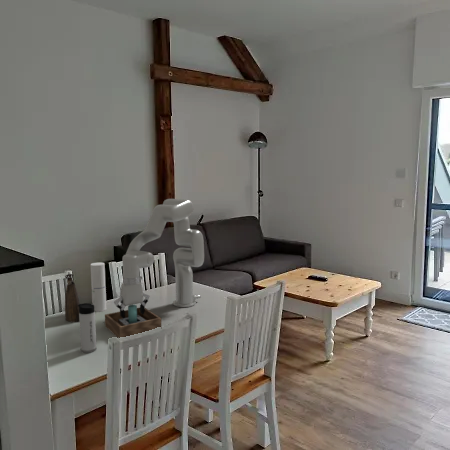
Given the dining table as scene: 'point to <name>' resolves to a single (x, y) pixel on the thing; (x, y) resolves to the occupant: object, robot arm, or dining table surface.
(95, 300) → the cylindrical container
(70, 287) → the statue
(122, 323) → the bore plate
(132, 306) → the peg
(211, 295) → the dining table surface
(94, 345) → the travel mug
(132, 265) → the robot arm
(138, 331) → the box
